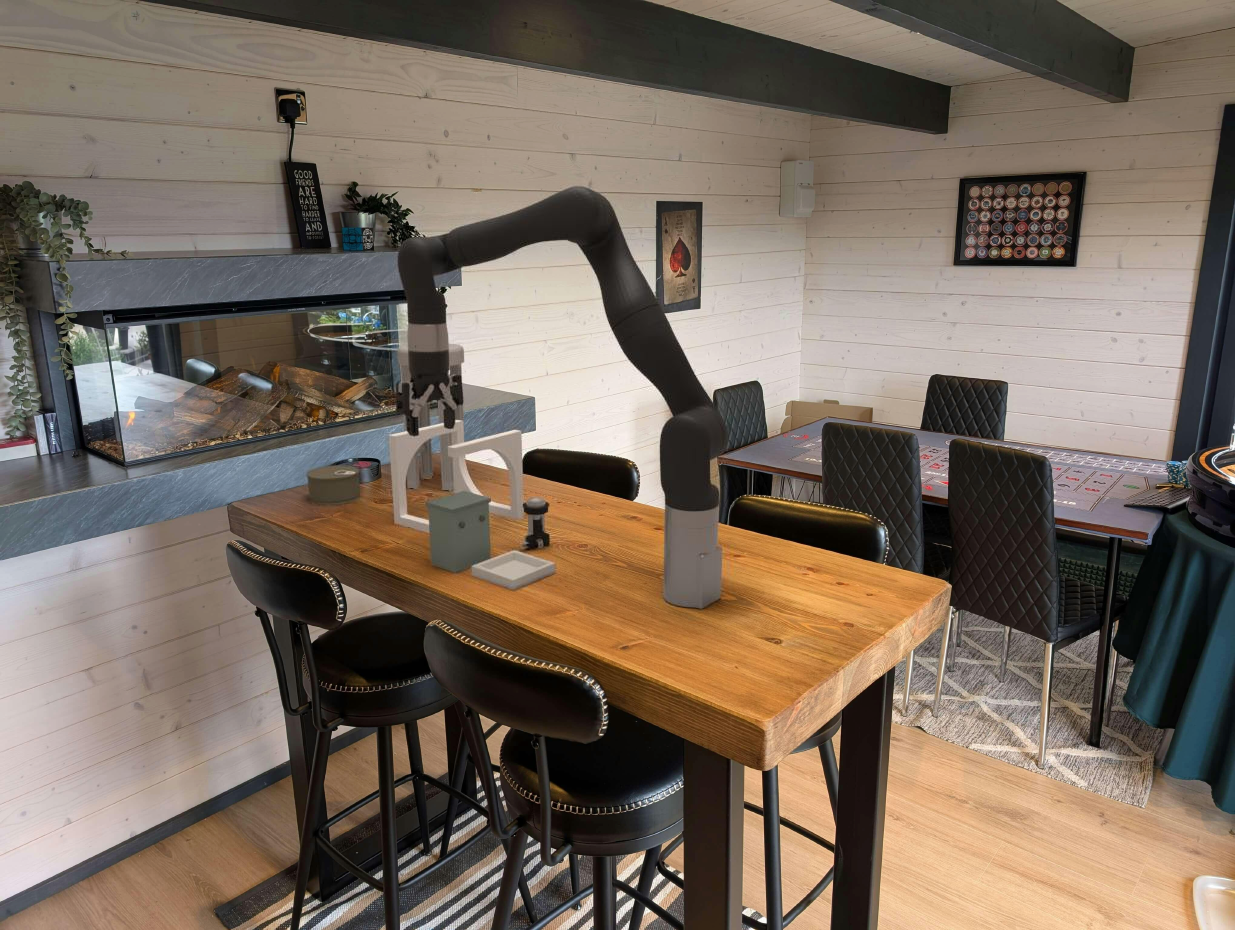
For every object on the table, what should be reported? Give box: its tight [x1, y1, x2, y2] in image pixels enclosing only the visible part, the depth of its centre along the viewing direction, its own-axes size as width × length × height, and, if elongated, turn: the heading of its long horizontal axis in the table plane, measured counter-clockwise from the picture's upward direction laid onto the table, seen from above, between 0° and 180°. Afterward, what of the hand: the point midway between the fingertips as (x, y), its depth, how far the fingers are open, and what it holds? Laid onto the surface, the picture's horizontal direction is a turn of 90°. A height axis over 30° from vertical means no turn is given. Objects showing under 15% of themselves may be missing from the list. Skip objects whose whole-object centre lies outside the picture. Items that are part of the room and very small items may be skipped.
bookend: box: [388, 420, 525, 534], centre depth 193 cm, size 20×20×20 cm
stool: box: [396, 343, 466, 492], centre depth 220 cm, size 16×16×35 cm
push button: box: [519, 496, 551, 551], centre depth 178 cm, size 7×5×10 cm
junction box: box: [425, 491, 492, 574], centre depth 169 cm, size 8×10×13 cm
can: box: [306, 464, 361, 507], centre depth 211 cm, size 12×12×7 cm
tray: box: [471, 549, 557, 591], centre depth 164 cm, size 11×11×2 cm
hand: (431, 431), depth 169 cm, fingers open, 8 cm apart
